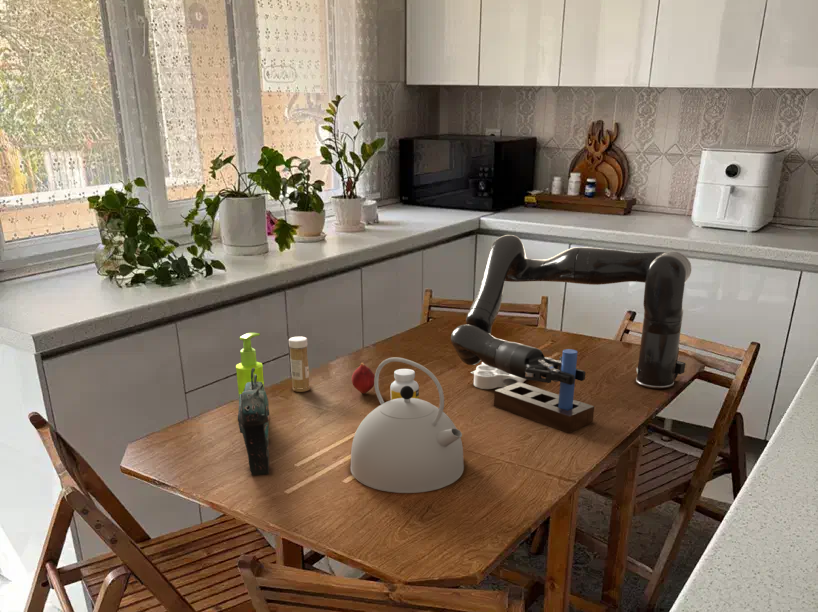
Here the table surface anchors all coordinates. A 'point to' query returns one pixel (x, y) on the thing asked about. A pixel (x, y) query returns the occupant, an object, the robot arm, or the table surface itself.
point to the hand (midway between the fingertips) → (578, 378)
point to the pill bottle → (404, 383)
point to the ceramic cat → (255, 425)
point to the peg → (565, 389)
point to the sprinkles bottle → (299, 363)
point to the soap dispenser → (248, 363)
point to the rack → (542, 407)
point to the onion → (363, 379)
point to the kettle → (407, 443)
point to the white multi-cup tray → (493, 377)
